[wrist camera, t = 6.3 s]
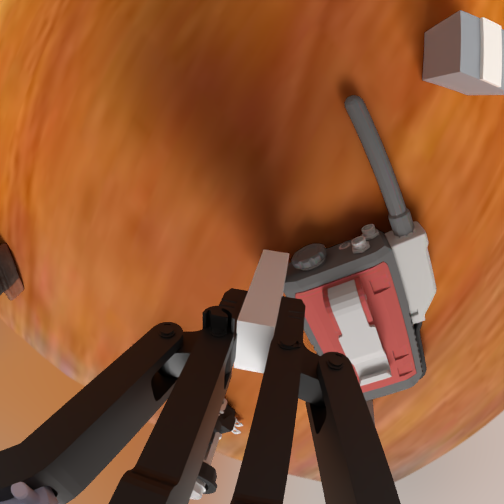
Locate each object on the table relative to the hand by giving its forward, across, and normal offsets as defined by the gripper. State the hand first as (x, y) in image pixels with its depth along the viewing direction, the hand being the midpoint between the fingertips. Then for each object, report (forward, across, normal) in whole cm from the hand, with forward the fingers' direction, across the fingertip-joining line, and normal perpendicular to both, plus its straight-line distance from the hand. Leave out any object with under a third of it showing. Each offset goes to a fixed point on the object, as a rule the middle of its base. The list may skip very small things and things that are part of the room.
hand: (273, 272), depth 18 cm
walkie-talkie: (+2, +5, 0) cm, 6 cm away
